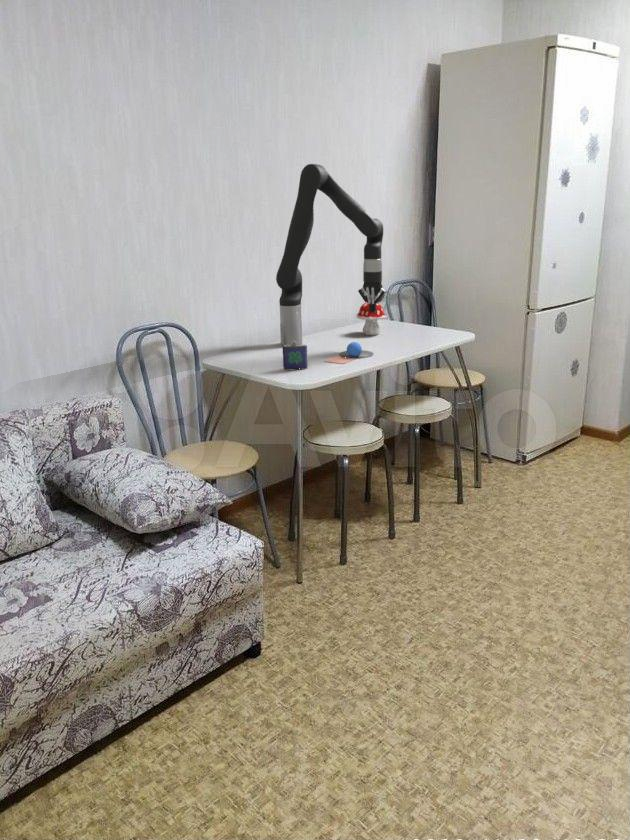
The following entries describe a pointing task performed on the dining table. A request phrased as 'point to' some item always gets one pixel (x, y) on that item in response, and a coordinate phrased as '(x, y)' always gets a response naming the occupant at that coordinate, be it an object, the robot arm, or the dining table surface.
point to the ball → (354, 349)
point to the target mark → (362, 355)
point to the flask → (295, 356)
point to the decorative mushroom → (371, 318)
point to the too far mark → (339, 360)
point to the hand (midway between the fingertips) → (372, 312)
